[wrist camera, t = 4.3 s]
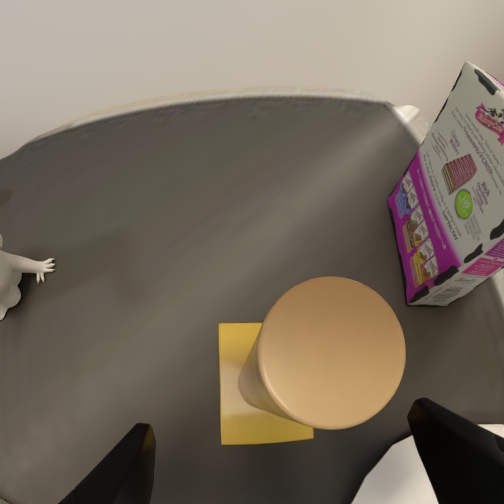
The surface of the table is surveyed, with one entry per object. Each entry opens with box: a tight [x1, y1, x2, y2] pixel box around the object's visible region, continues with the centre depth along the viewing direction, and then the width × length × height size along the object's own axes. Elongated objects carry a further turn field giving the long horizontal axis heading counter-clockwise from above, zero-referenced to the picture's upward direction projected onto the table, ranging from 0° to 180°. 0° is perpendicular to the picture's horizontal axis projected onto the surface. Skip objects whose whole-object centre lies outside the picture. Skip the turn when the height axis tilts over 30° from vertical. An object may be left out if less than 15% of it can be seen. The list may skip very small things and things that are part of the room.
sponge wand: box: [219, 277, 406, 445], centre depth 11 cm, size 7×5×14 cm
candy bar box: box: [387, 61, 504, 306], centre depth 16 cm, size 11×5×16 cm, turn 176°
